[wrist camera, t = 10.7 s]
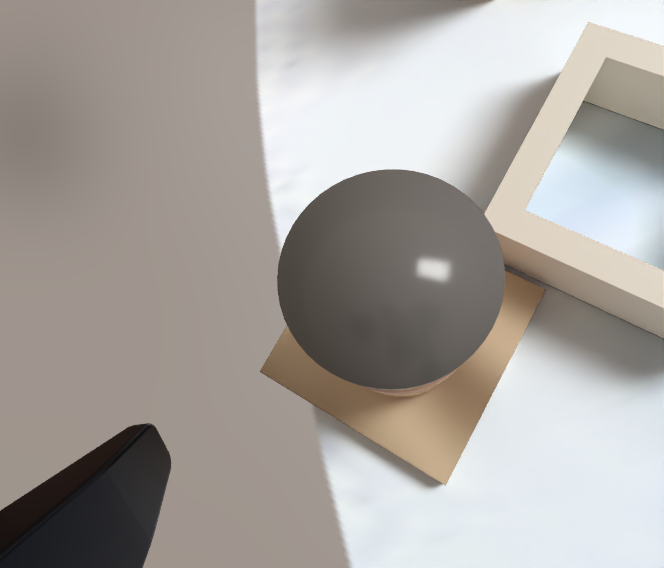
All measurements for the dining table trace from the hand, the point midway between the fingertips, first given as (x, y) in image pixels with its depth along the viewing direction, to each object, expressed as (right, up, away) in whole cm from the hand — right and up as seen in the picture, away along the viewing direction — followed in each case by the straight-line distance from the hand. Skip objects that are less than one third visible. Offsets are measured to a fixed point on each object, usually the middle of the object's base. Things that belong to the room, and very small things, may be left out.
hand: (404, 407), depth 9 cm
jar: (+2, 0, +13) cm, 13 cm away
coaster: (+2, 0, +14) cm, 14 cm away
